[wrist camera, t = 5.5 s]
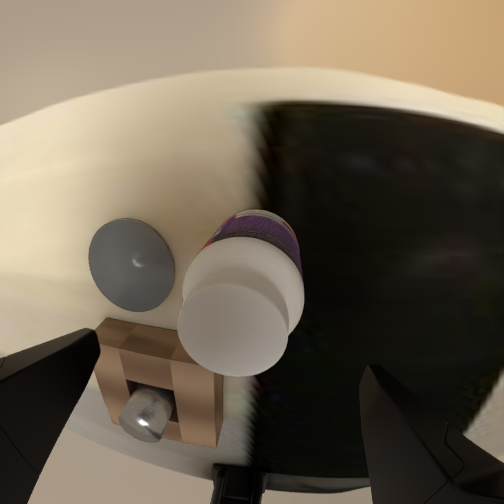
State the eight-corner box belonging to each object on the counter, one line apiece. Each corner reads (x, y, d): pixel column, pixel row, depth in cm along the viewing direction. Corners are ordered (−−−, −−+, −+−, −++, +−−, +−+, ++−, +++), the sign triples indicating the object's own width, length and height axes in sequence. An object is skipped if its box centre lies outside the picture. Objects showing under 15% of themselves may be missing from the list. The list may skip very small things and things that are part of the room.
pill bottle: (216, 204, 19) (153, 254, 9) (303, 212, 18) (322, 272, 9) (213, 283, 20) (164, 378, 11) (293, 292, 20) (296, 397, 11)
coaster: (177, 314, 22) (174, 318, 21) (99, 300, 22) (95, 304, 21) (173, 221, 19) (170, 223, 19) (88, 216, 20) (84, 218, 19)
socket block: (223, 420, 25) (216, 448, 22) (126, 399, 26) (112, 423, 22) (223, 337, 22) (213, 366, 18) (106, 317, 22) (85, 339, 19)
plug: (185, 395, 24) (164, 446, 18) (149, 387, 24) (124, 435, 18) (182, 367, 23) (157, 420, 17) (143, 359, 23) (113, 407, 17)
